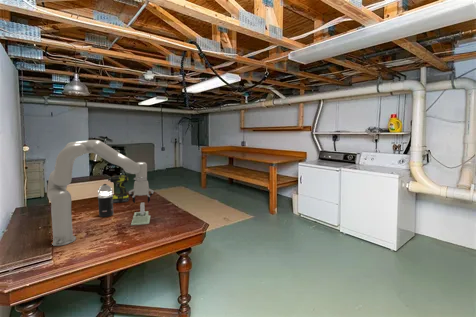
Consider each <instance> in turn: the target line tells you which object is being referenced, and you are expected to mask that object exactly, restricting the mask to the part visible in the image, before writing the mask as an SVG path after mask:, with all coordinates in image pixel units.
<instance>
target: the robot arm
mask: <svg viewBox="0 0 476 317" xmlns="http://www.w3.org/2000/svg"><path fill="white" fill-rule="evenodd" d="M92 153H93V154H94V155H96V156H98V157H100V158H102V159H103V160H105V161H107V162H108V163H110V164H112V165H115V166H118V167H120V168H122V170H124V173H128V174H131V175H135V177H133V180H135V181H134V183H133V188H132V189H130V190H129V191H128V195H129V196H130V197H131V198H132V202H133V204H135V203H136V196H147V203H149V202H150V201H151V196H152V195H153V194H154V192H155V190H153V189H151V188H150V187H149V181H148V164H147V162H145V161H138V162H136V161H134V160H133V159H131V158H129V157H128V156H126V155H124V154H122V153H120V152H119V151H118V150H116V149H114V148H112V147H111V146H109V145H108V144H106V143H105V142H103V141H102V140H98V139H88V140H80V141H70V142H68V143H66V145H65V146H64V148H63V149H61V150H60V151H59V153H58V154H57V156H56V159H55V165H54V170H52V171H51V172H50V174H49V177H48V181H47V182H48V183H47V191H46V196H47V199H48V200H49V201H50V202H51V203H50V206H51V207H50V208H51V209H50V211H51V212H50V214H51V224H52V226H51V227H52V238H53V239H52V240H53V243H52V245H53V247H59V246H65V245H69V244H71V243H74V242H75V241H76V240H77V236H75V235H74V234H73V233H74V232H73V217H72V216H73V215H72V194H71V193H70V192H69V190H68V189H67V188H68V186H69V185H70V184H71V182H72V179H73V167H74V163H75V161H76V159H78V158H79V157H81V156H83V155H85V154H86V155H87V154H92ZM149 192H150V193H149ZM52 245H51V246H52Z"/></svg>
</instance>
